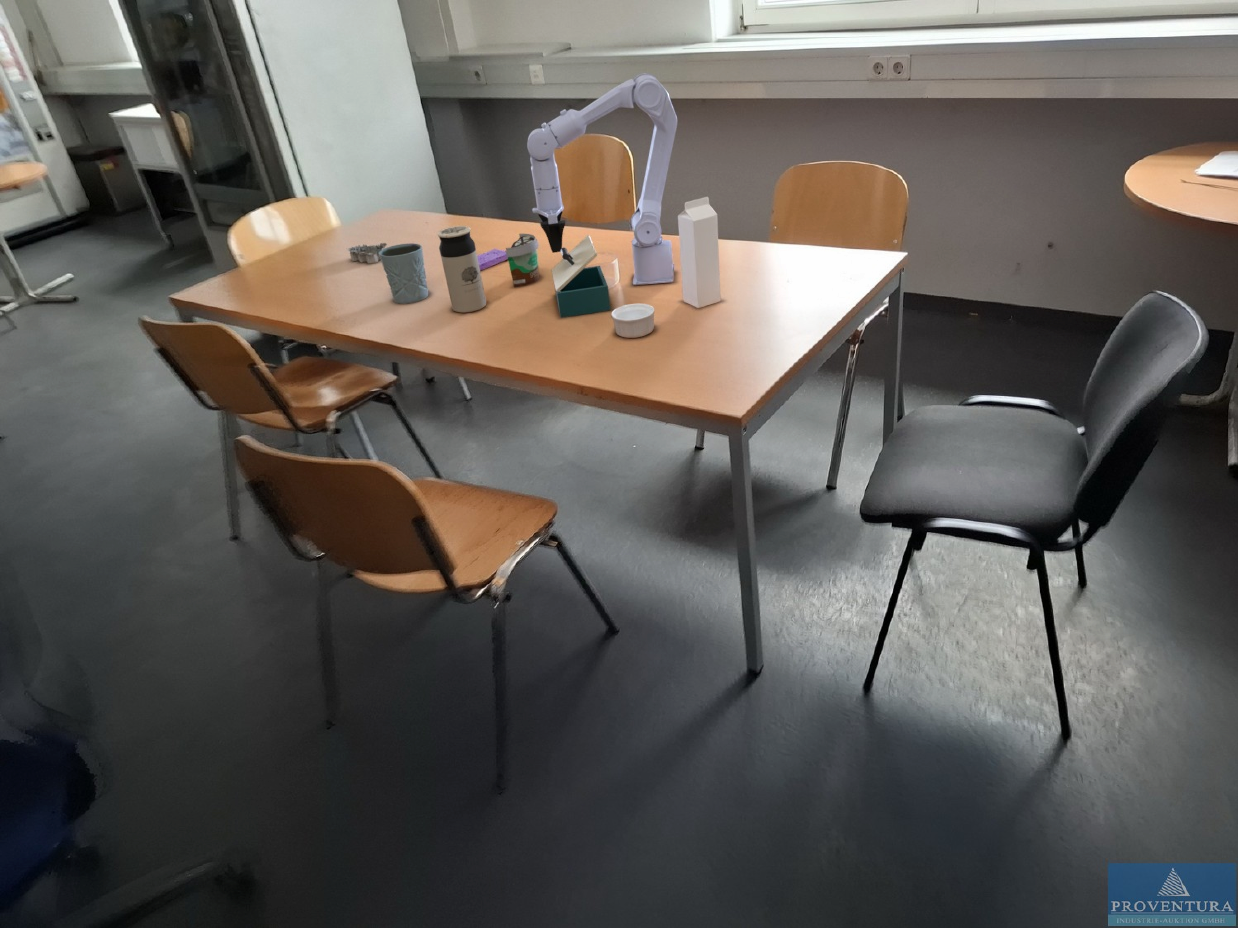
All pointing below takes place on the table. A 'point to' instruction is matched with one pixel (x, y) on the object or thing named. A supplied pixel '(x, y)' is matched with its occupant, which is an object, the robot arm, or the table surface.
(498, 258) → the sponge
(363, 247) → the egg carton
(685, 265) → the milk
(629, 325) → the ramekin
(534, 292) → the table surface
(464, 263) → the travel mug
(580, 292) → the cool box
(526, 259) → the food container
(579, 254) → the lid
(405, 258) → the blue embossed cup
